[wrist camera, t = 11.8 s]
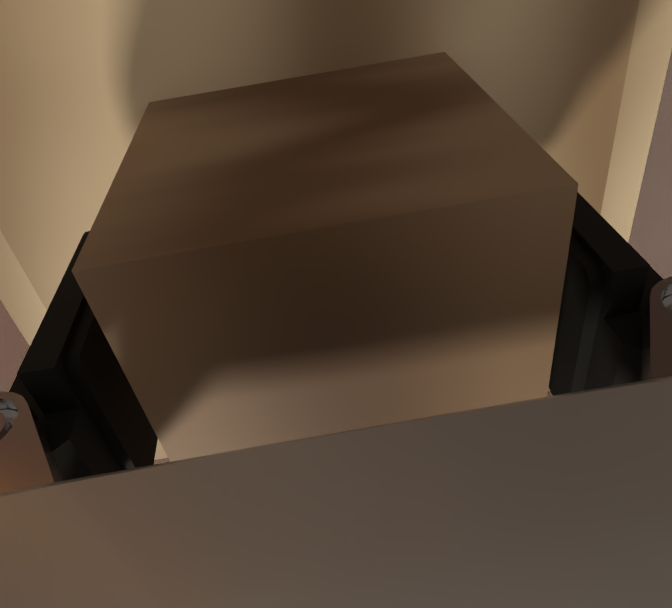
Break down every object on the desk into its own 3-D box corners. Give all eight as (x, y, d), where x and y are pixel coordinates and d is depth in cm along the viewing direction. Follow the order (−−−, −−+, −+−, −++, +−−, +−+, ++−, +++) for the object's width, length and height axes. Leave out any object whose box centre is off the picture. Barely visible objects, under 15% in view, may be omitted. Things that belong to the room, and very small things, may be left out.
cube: (445, 51, 11) (578, 184, 7) (447, 288, 15) (534, 482, 10) (149, 102, 11) (71, 270, 7) (225, 327, 15) (209, 538, 10)
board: (701, -333, 10) (771, -364, 8) (575, 351, 19) (598, 386, 18) (-237, -178, 9) (-316, -185, 8) (116, 431, 19) (106, 471, 18)
